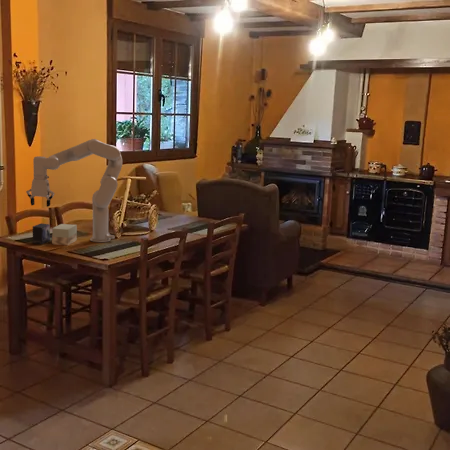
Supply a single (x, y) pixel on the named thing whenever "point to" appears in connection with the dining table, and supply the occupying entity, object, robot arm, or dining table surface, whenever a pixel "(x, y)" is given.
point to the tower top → (64, 230)
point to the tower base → (64, 240)
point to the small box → (41, 233)
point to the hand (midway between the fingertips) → (40, 205)
